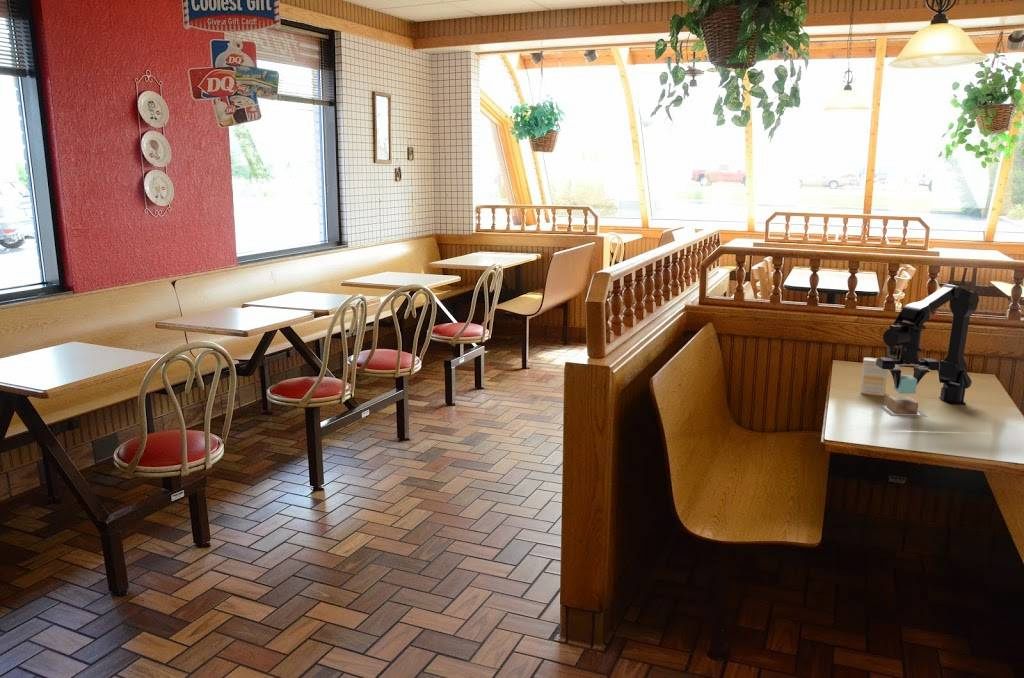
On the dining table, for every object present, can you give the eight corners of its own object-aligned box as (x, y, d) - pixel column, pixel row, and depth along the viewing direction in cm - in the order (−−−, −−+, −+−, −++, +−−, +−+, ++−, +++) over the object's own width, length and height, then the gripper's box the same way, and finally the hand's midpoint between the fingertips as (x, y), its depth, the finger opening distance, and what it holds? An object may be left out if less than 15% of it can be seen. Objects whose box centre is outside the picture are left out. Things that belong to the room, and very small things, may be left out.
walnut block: (907, 407, 271) (909, 396, 271) (916, 414, 265) (918, 402, 264) (886, 407, 272) (888, 395, 271) (895, 413, 265) (897, 402, 264)
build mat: (911, 406, 274) (911, 405, 274) (927, 417, 262) (928, 416, 262) (876, 405, 274) (876, 404, 274) (890, 417, 263) (891, 415, 263)
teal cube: (908, 389, 269) (910, 375, 268) (915, 393, 264) (917, 379, 263) (893, 389, 269) (895, 374, 268) (900, 393, 264) (901, 379, 263)
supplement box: (884, 394, 288) (888, 359, 285) (884, 397, 284) (888, 362, 281) (860, 391, 292) (863, 356, 289) (859, 394, 287) (863, 359, 284)
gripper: (927, 338, 270) (922, 382, 274) (872, 337, 271) (867, 381, 275) (943, 346, 259) (937, 391, 263) (885, 345, 260) (880, 390, 264)
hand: (904, 388), depth 266 cm, fingers closed on teal cube, 5 cm apart
